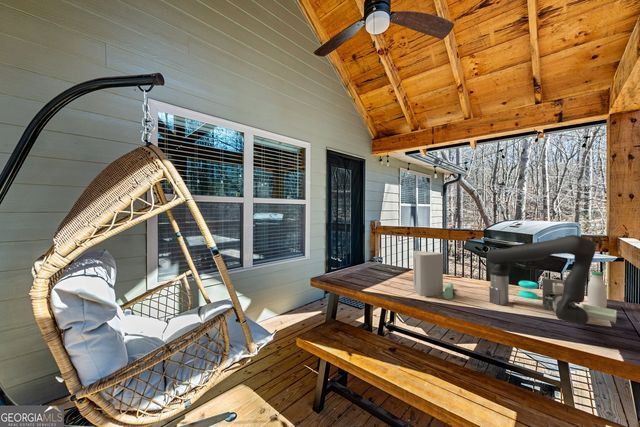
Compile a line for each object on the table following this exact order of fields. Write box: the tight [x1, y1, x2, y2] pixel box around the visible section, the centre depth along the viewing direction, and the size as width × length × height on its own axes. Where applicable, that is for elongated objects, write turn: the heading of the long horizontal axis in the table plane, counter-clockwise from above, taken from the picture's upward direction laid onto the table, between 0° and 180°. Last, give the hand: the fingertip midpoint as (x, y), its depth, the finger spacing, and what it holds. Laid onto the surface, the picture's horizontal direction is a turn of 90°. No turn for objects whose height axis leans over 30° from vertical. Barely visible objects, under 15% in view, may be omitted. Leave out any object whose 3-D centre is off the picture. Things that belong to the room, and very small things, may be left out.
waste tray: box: [580, 303, 618, 324], centre depth 141 cm, size 13×13×4 cm
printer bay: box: [542, 277, 565, 312], centre depth 150 cm, size 12×12×16 cm
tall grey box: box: [412, 250, 444, 297], centre depth 182 cm, size 19×15×28 cm
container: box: [442, 282, 454, 300], centre depth 183 cm, size 6×6×25 cm
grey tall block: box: [553, 279, 565, 312], centre depth 144 cm, size 6×5×16 cm
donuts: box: [518, 280, 539, 300], centre depth 171 cm, size 10×10×10 cm
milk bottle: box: [587, 270, 608, 308], centre depth 154 cm, size 8×8×20 cm
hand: (558, 294), depth 146 cm, fingers closed on grey tall block, 5 cm apart
